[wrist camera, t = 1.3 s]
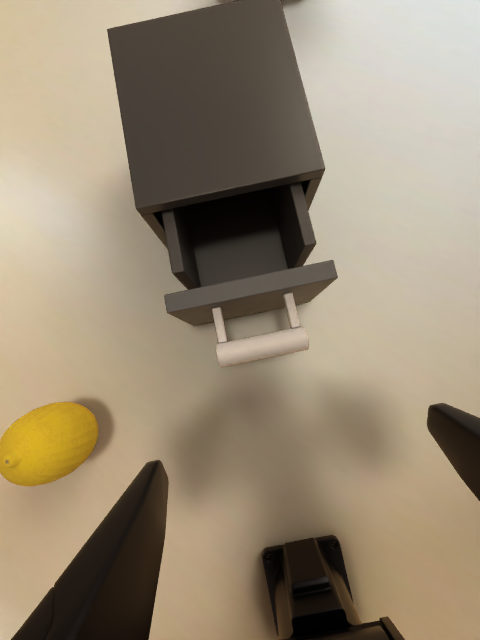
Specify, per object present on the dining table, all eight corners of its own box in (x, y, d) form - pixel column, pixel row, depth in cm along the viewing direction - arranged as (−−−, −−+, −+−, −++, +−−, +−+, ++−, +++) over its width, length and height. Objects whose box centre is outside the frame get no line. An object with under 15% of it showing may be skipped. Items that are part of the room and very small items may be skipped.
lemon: (44, 427, 24) (-54, 462, 17) (87, 382, 25) (11, 396, 17) (84, 471, 24) (1, 530, 16) (127, 425, 24) (68, 459, 16)
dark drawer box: (297, 236, 26) (325, 168, 16) (177, 261, 26) (135, 209, 17) (268, 115, 28) (278, -10, 18) (155, 139, 28) (106, 28, 18)
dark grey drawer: (320, 345, 24) (354, 340, 16) (201, 369, 24) (177, 377, 16) (280, 178, 26) (293, 103, 18) (170, 201, 26) (137, 136, 18)
